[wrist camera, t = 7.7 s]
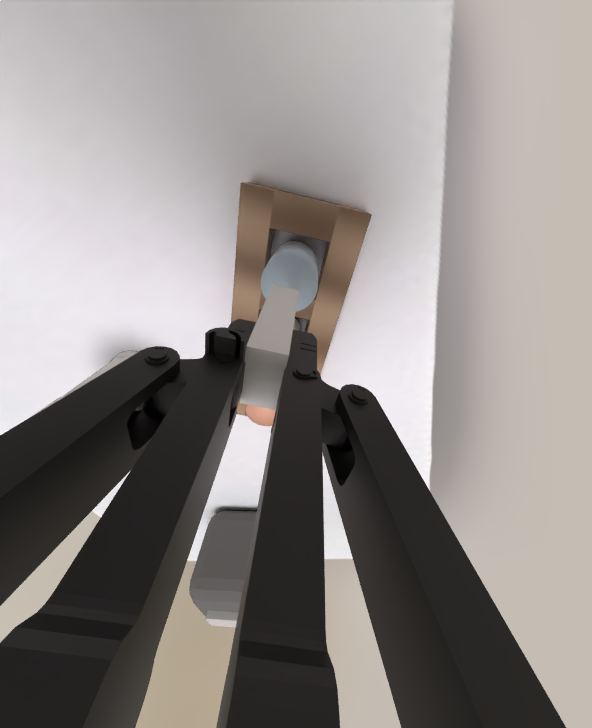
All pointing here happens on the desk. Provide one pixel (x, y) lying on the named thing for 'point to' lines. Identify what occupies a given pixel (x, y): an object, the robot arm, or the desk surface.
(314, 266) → the light blue rounded cylinder
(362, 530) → the robot arm
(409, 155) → the desk surface
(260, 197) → the wooden peg holder
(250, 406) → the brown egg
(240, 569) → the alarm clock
